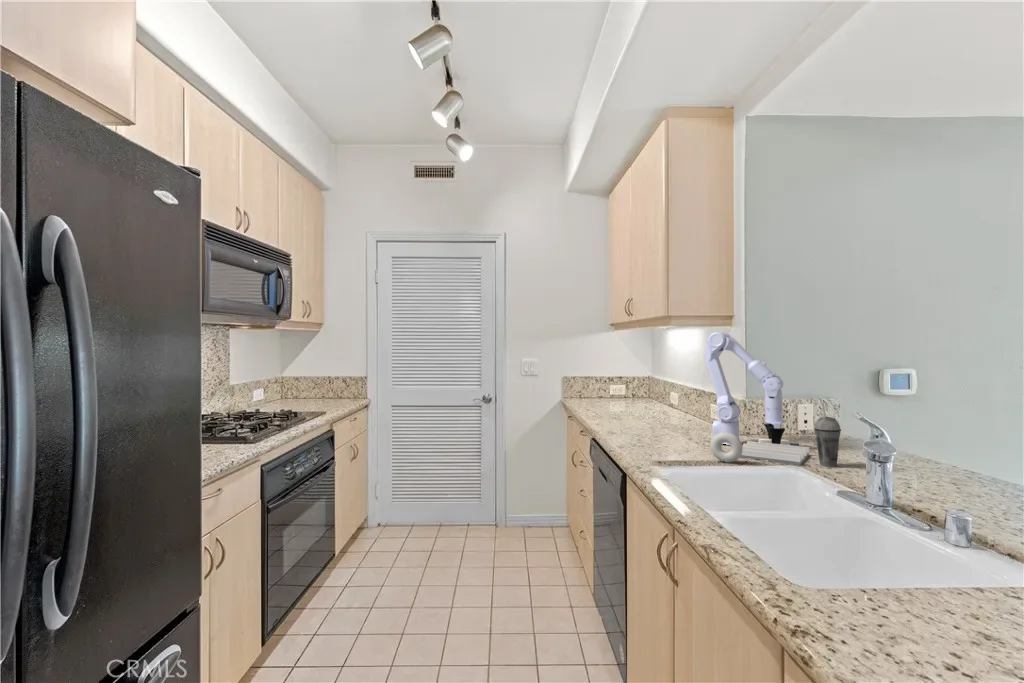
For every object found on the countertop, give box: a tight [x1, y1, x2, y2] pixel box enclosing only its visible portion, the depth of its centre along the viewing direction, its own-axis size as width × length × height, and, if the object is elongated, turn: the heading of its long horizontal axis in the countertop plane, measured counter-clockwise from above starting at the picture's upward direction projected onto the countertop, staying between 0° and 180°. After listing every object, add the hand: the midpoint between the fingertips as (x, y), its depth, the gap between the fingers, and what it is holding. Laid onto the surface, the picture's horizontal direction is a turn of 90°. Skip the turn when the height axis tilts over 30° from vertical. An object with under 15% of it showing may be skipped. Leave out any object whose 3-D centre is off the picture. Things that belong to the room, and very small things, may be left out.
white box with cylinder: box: [758, 438, 800, 446], centre depth 182 cm, size 13×3×4 cm, turn 71°
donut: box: [709, 432, 743, 463], centre depth 163 cm, size 10×4×10 cm, turn 55°
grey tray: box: [740, 440, 811, 466], centre depth 170 cm, size 20×18×3 cm
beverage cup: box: [813, 402, 842, 468], centre depth 156 cm, size 7×7×20 cm
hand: (774, 444), depth 182 cm, fingers open, 6 cm apart
